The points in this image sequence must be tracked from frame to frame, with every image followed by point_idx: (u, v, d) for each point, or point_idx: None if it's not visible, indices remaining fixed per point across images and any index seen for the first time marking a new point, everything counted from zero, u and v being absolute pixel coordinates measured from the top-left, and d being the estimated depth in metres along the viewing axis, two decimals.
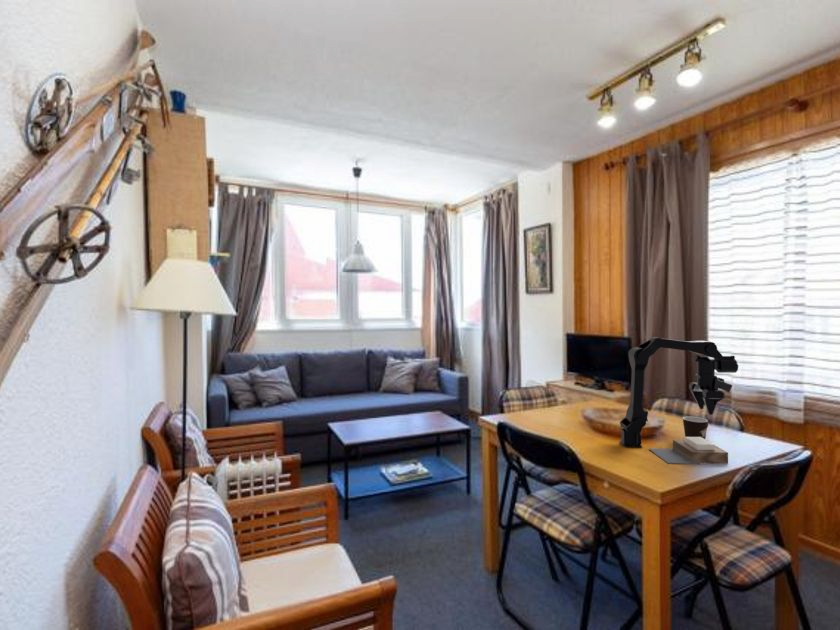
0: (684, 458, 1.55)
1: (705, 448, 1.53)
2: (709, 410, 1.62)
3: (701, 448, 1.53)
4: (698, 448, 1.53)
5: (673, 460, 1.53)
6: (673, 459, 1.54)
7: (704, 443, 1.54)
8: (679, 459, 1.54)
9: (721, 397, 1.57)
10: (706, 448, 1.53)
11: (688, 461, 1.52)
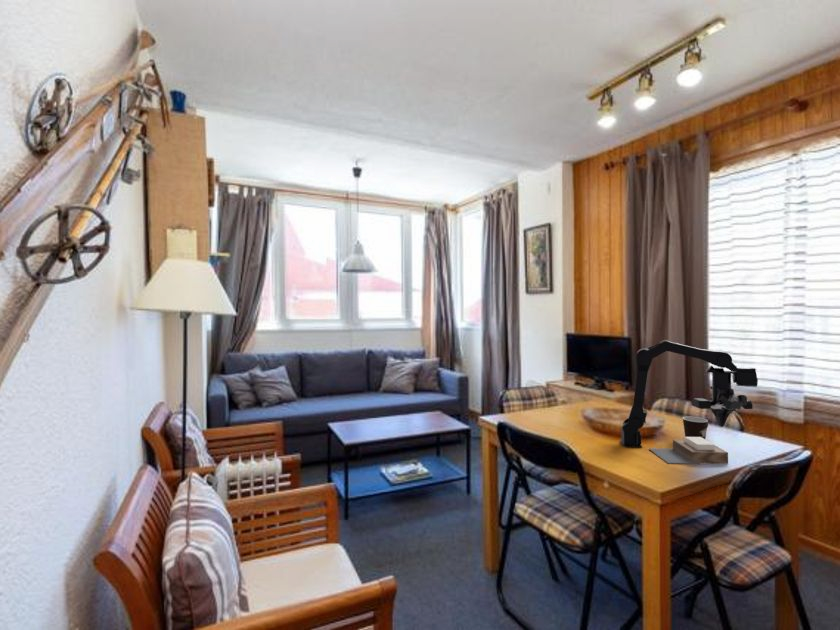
0: (684, 458, 1.55)
1: (705, 448, 1.53)
2: (717, 421, 1.57)
3: (701, 448, 1.53)
4: (698, 448, 1.53)
5: (673, 460, 1.53)
6: (673, 459, 1.54)
7: (704, 443, 1.54)
8: (679, 459, 1.54)
9: (697, 406, 1.56)
10: (706, 448, 1.53)
11: (688, 461, 1.52)
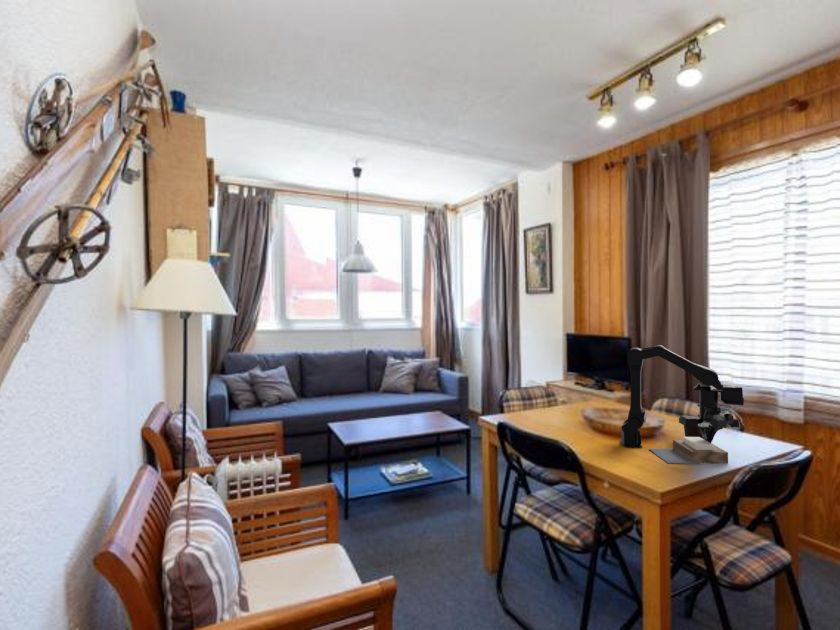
0: (684, 458, 1.55)
1: (703, 448, 1.53)
2: (705, 438, 1.58)
3: (699, 448, 1.53)
4: (696, 448, 1.53)
5: (673, 460, 1.53)
6: (673, 459, 1.54)
7: (702, 443, 1.54)
8: (679, 459, 1.54)
9: (684, 424, 1.56)
10: (704, 448, 1.53)
11: (688, 461, 1.52)
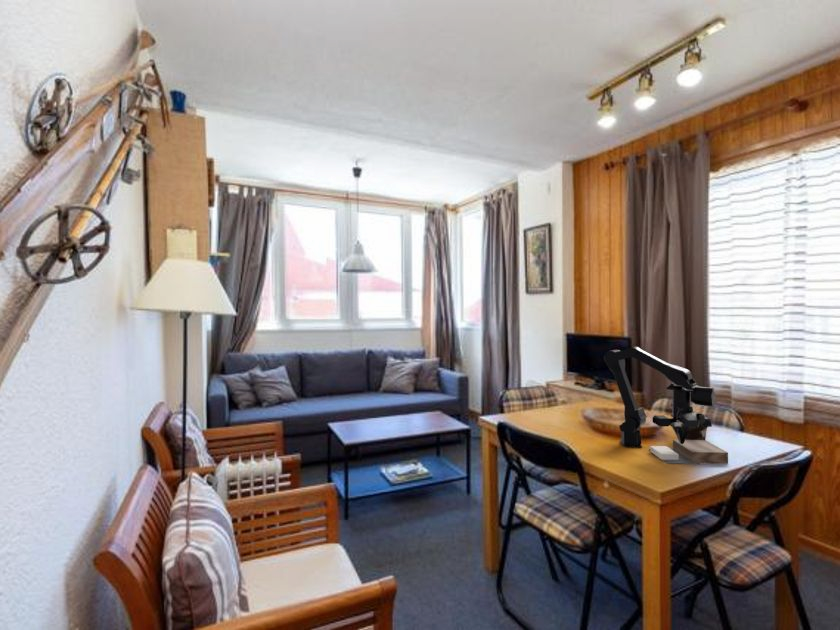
0: (684, 458, 1.55)
1: (670, 455, 1.54)
2: (678, 438, 1.59)
3: (674, 455, 1.54)
4: (677, 455, 1.54)
5: (673, 460, 1.53)
6: None
7: None
8: (679, 459, 1.54)
9: (657, 424, 1.57)
10: (669, 455, 1.54)
11: (688, 461, 1.52)
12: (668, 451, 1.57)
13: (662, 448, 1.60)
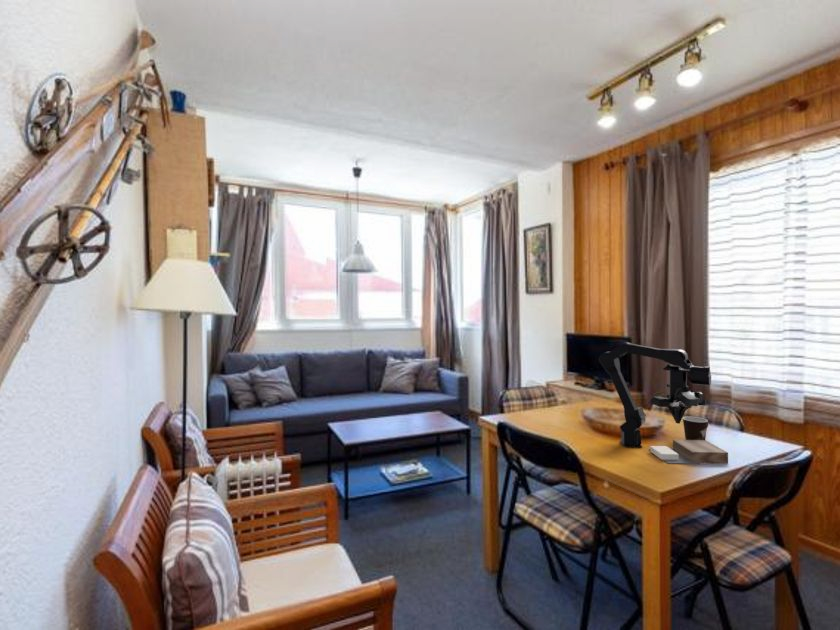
0: (684, 458, 1.55)
1: (670, 455, 1.54)
2: (674, 418, 1.61)
3: (674, 455, 1.54)
4: (677, 455, 1.54)
5: (673, 460, 1.53)
6: None
7: None
8: (679, 459, 1.54)
9: (658, 405, 1.57)
10: (669, 455, 1.54)
11: (688, 461, 1.52)
12: (668, 451, 1.57)
13: (662, 448, 1.60)
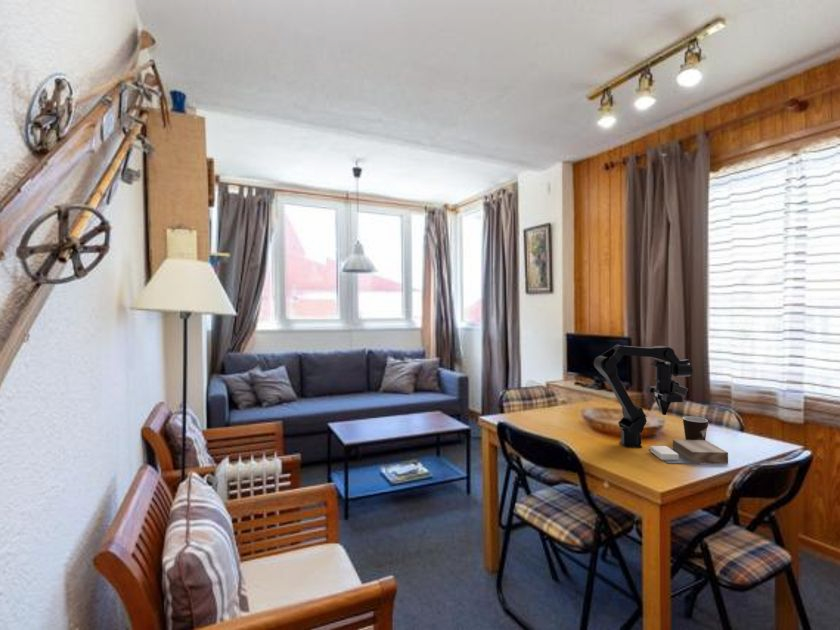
0: (684, 458, 1.55)
1: (670, 455, 1.54)
2: (663, 411, 1.71)
3: (674, 455, 1.54)
4: (677, 455, 1.54)
5: (673, 460, 1.53)
6: None
7: None
8: (679, 459, 1.54)
9: (680, 401, 1.62)
10: (669, 455, 1.54)
11: (688, 461, 1.52)
12: (668, 451, 1.57)
13: (662, 448, 1.60)
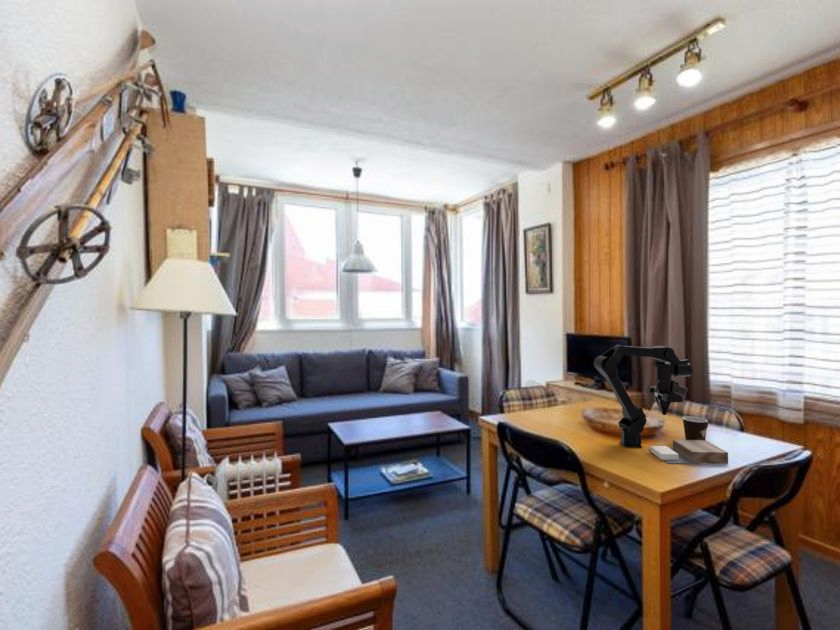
0: (684, 458, 1.55)
1: (670, 455, 1.54)
2: (663, 411, 1.71)
3: (674, 455, 1.54)
4: (677, 455, 1.54)
5: (673, 460, 1.53)
6: None
7: None
8: (679, 459, 1.54)
9: (680, 401, 1.62)
10: (669, 455, 1.54)
11: (688, 461, 1.52)
12: (668, 451, 1.57)
13: (662, 448, 1.60)
